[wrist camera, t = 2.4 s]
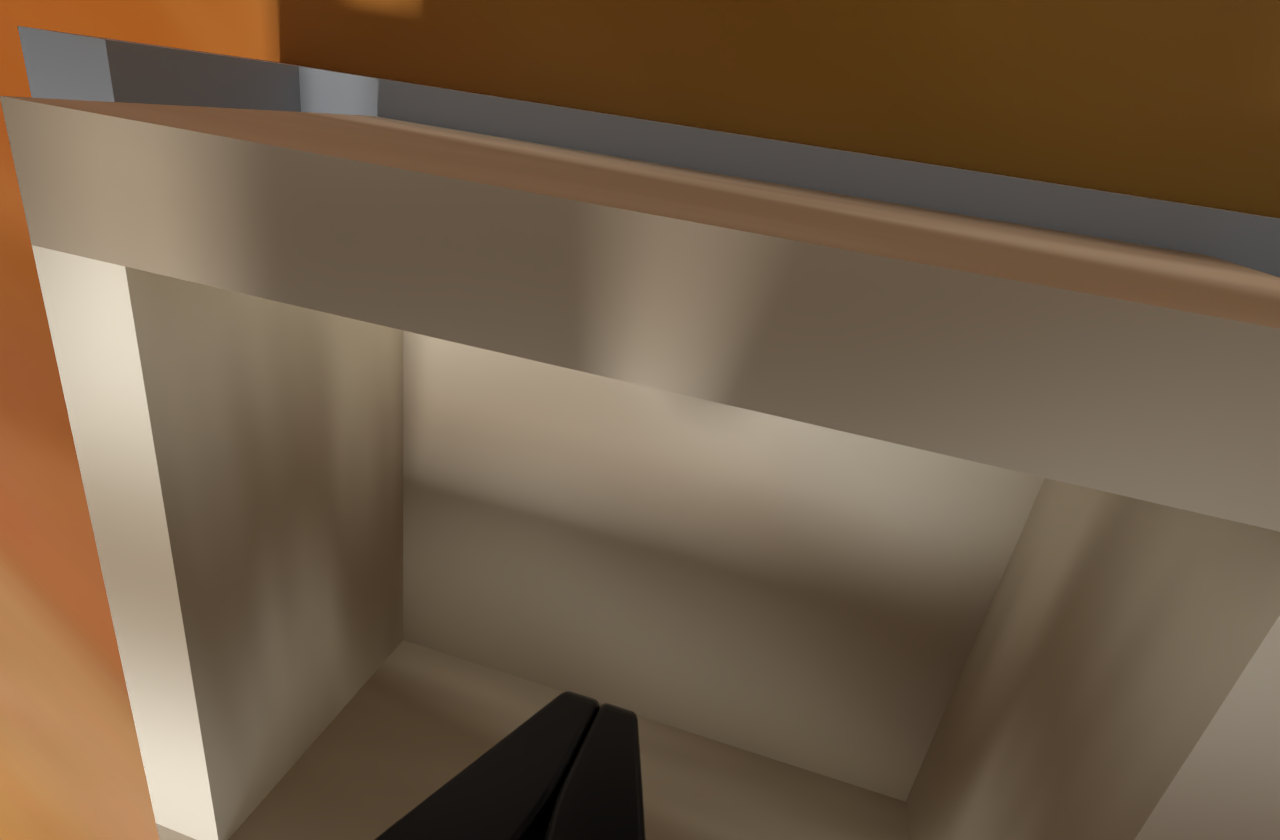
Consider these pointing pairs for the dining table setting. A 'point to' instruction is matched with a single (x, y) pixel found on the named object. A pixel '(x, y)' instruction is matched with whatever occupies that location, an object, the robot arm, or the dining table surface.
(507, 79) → the dining table surface
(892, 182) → the bay
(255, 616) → the crate
